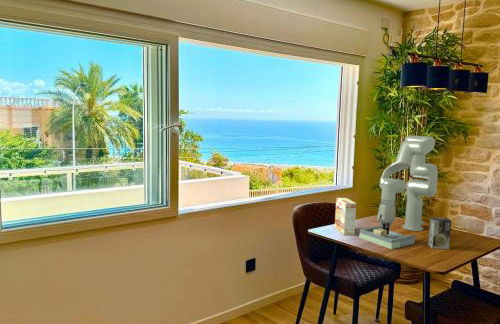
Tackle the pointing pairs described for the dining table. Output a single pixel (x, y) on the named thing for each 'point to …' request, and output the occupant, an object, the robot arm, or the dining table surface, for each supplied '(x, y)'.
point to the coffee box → (439, 233)
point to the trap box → (386, 238)
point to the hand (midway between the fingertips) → (385, 233)
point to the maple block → (380, 232)
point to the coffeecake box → (345, 216)
